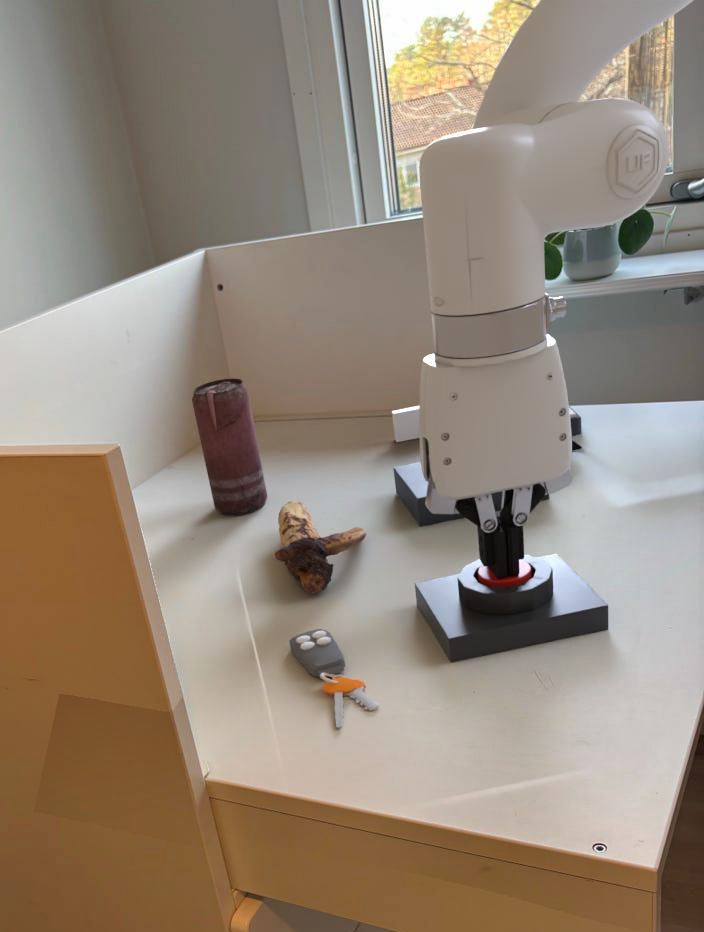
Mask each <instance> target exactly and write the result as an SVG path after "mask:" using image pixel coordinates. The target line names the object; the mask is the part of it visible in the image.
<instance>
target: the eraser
mask: <svg viewBox="0 0 704 932" xmlns="http://www.w3.org/2000/svg"><path fill="white" fill-rule="evenodd" d="M391 418H392V419H391V420H392V426H393V435H394V440H395V442H396V443H400V442H405V441H410V440H411V441H412V440H416V439H420V430H419V405H416V406H410V407H405V408H400V409H396V410H391Z"/></svg>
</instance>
